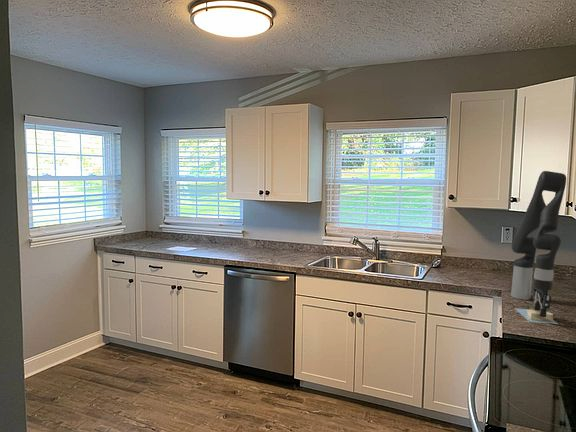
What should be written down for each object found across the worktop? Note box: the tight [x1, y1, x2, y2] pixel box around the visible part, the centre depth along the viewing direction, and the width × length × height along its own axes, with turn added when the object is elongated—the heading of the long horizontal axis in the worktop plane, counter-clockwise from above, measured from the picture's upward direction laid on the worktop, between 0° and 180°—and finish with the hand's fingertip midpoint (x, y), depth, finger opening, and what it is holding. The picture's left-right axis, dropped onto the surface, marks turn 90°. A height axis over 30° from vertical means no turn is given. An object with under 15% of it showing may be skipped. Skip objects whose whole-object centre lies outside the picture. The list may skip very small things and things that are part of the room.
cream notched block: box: [527, 309, 554, 322], centre depth 200 cm, size 9×5×3 cm, turn 80°
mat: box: [514, 307, 559, 325], centre depth 205 cm, size 20×12×1 cm, turn 170°
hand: (539, 314), depth 199 cm, fingers open, 6 cm apart
